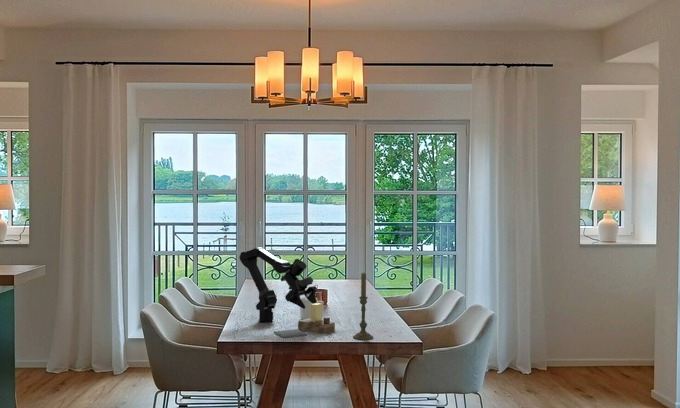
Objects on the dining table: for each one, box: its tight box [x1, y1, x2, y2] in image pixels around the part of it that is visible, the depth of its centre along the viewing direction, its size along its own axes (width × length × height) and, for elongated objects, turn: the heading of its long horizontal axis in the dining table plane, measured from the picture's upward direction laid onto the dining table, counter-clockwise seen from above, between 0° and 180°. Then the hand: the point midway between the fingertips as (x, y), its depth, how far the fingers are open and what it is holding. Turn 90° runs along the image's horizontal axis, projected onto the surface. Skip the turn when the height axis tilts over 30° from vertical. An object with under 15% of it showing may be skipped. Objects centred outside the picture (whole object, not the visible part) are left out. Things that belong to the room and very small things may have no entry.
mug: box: [299, 296, 324, 320], centre depth 318 cm, size 12×9×11 cm
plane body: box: [297, 316, 336, 335], centre depth 293 cm, size 16×8×6 cm, turn 54°
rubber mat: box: [273, 328, 308, 339], centre depth 284 cm, size 12×12×1 cm
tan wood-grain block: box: [311, 302, 323, 323], centre depth 293 cm, size 3×5×10 cm, turn 144°
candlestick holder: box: [352, 271, 374, 341], centre depth 277 cm, size 9×9×30 cm
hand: (310, 306), depth 295 cm, fingers open, 9 cm apart
